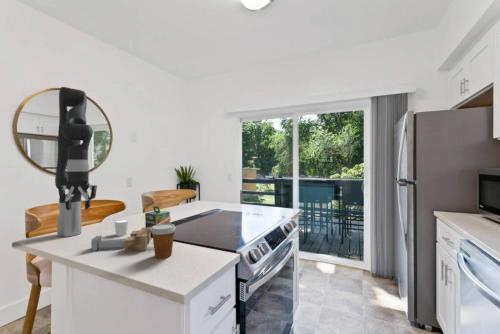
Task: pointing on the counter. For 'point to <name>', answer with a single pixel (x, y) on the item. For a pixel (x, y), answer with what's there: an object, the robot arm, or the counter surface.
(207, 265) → the counter surface
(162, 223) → the keeper flap
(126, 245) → the hitch block
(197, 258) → the counter surface
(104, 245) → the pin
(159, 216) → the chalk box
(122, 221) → the white cup
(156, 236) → the disposable coffee cup
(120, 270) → the counter surface
